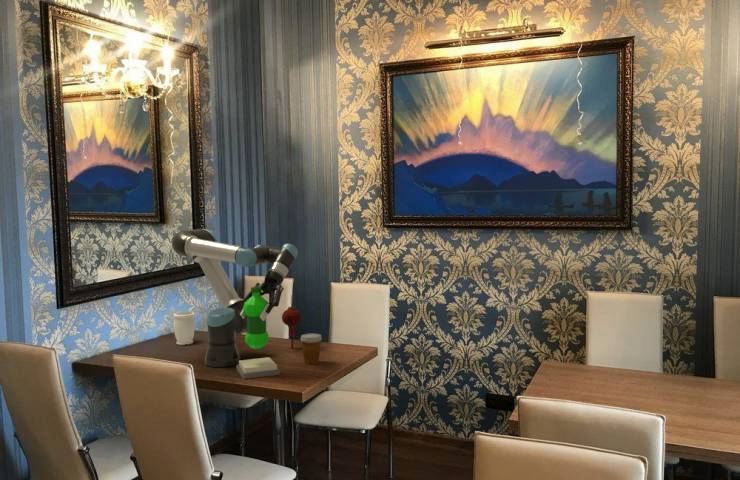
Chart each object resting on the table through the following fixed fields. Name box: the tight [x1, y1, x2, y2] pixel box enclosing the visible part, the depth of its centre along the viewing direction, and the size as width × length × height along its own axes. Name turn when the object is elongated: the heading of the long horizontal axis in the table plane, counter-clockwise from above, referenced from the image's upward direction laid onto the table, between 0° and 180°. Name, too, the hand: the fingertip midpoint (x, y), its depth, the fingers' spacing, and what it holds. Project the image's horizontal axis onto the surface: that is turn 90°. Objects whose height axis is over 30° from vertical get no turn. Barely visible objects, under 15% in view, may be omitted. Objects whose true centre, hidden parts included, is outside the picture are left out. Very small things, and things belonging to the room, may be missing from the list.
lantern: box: [281, 296, 302, 350], centre depth 300 cm, size 10×10×30 cm
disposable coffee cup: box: [299, 333, 323, 365], centre depth 275 cm, size 10×10×12 cm
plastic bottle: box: [243, 286, 270, 350], centre depth 260 cm, size 10×10×25 cm
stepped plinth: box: [235, 356, 281, 380], centre depth 262 cm, size 15×15×4 cm
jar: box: [172, 311, 196, 346], centre depth 314 cm, size 11×10×15 cm
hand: (251, 317), depth 257 cm, fingers closed on plastic bottle, 10 cm apart
